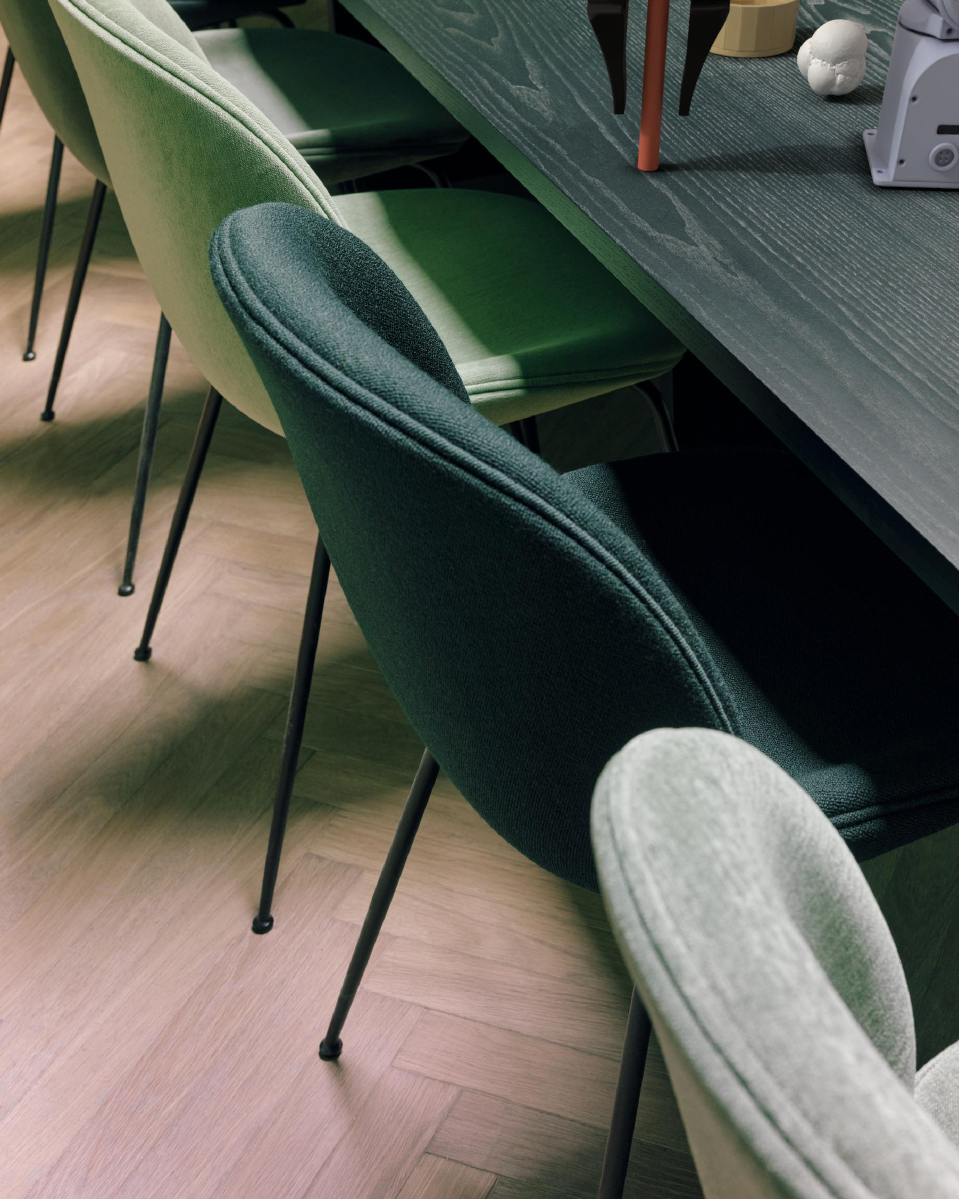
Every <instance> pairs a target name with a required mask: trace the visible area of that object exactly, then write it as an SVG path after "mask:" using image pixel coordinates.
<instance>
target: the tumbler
mask: <svg viewBox="0 0 959 1199" xmlns="http://www.w3.org/2000/svg"><path fill="white" fill-rule="evenodd" d="M800 3H801V0H730V12H729V15H728V17H727V19H726V21H725V24H724V26H723V27H722V29H721V31H720V32H719V34H718V36H717V38H716V40H715V42H714V44H713V46H712V48H711V50H710V52H709V53H712V54H716V55H720V56H726V57H732V58H763V57H765V58H766V57H773V56H777V55H780V54H784V53H787V52H788V51H790V50H791V49H793V47H794V44H795V39H796V33H797V26H798V20H799V19H798V18H799V12H800V5H801V4H800Z"/></svg>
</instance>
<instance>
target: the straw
mask: <svg viewBox="0 0 959 1199" xmlns="http://www.w3.org/2000/svg"><path fill="white" fill-rule="evenodd" d="M670 4H671V0H647V4H646V5H647V6H646V7H647V8H646V23H645V40H644V56H643V57H644V58H643V59H644V60H643V74H642V75H643V76H642V91H641V92H642V93H641V108H640V123H639V124H640V126H639V141H638V143H639V144H638V156H637V157H638V160H637V168H638V169H639V170H640V171H643V172H654V171H657V170H658V168H659V164H660V163H659V161H660V148H661V133H662V121H663V120H662V119H663V118H662V117H663V105H664V92H665V91H664V90H665V89H664V88H665V78H666V77H665V76H666V62H667V50H668V49H667V47H668V35H669V34H668V32H669V21H670V20H669V18H670Z"/></svg>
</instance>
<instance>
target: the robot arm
mask: <svg viewBox="0 0 959 1199" xmlns="http://www.w3.org/2000/svg"><path fill="white" fill-rule="evenodd" d="M689 2H690V4H689V16H688V28H687V31H688V32H687V40H686V41H687V42H686V52H685V59H684V65H683V71H682V77H681V83H680V84H681V85H680V88H679V89H680V91H679V100H678V101H679V102H678V103H679V104H678V115H677V116H678V117H689V116H690V112H691V106H692V101H693V96H694V93H695V90H696V87H697V84H698V81H699V78H700V75H701V72H702V71H703V68H704V66H705V62H706V60H707V58H708V56H709V53H711V52H710V50H711V48H712V46H713V44H714V42H715V40H716V38H717V36H718V34H719V32H720V31H721V29H722V27H723V26H724V24H725V21H726V19H727V17H728V15H729V12H730V0H690V1H689ZM629 5H630V0H587V6H586V14H587V17H588V21H589V25H590V26H591V29H592V31H593V33H594V35H595V38H596V41H597V43H598V46H599V48H600V51H601V53H602V57H603V60H604V63H605V66H606V71H607V75H608V79H609V85H610V90H611V95H612V104H613V107H612V108H613V114H614V115H625V112H626V105H627V94H628V93H627V92H628V82H627V80H628V77H627V40H628V39H627V38H628V24H629V23H628V22H629V8H630V6H629ZM887 68H888V69H887V74H886V79H885V84H884V89H883V96H882V99H881V100H882V101H881V105H880V106H881V107H880V112H879V117H878V122H877V128H873V129H872V128H871V129H870V128H868V129H865V130H863V132H862V140H863V144H864V146H865V147H864V148H865V151H866V152H865V153H866V157H867V162H868V164H869V169H870V173H871V178H872V182H873V184H874V185H876V186H877V187H878V186H879V187H894V188H895V187H898V188H899V187H901V188H902V187H903V188H929V189H959V0H904V1H903V3H902V4H901V6H900V8H899V10H898V14H897V20H896V25H895V32H894V36H893V42H892V47H891V52H890V57H889V63H888V67H887Z"/></svg>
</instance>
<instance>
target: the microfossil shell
mask: <svg viewBox="0 0 959 1199" xmlns="http://www.w3.org/2000/svg"><path fill="white" fill-rule="evenodd" d="M867 51H868V38H867V34H866V32H865V30H864V28H862V26H861V25H859V24H858V23H856V22H854V21H852V20H849V19H839V18H838V19H832V20H829V21H827V22H824V24H822V25H821V26H820V27H819V28H817V29H816V30H815V32H814V33H813V35H812V37H809V38H808V39H807V40H805V41H804V42H803V44H802V45H801V46H800V47H799V50H798V53H797V57H796V64H797V67H798V70H799V72H800V74H801V75H802V77H803V78H804V79H806V80H807V81H808V84H809V87H810V88H811V90H812V91H813V92H815V93H816V94H818V95H820V96H829V95H832V96H843V95H847V94H849V93H851V92H853V91H854V90H856V88H858V87H859V86H860V84H861V83H862V82H863V80H864V77H865V75H866V70H867V61H866V54H867Z"/></svg>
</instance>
